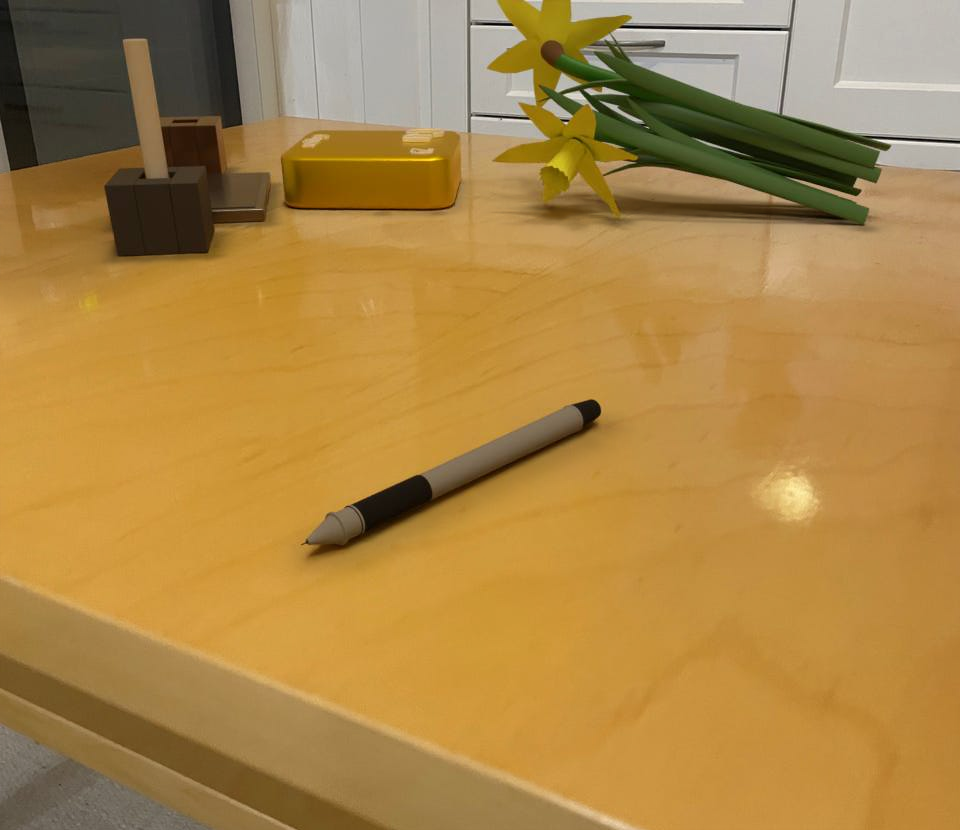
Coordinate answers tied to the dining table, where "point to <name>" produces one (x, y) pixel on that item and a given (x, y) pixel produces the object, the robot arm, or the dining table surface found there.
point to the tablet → (239, 196)
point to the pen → (451, 474)
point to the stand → (194, 142)
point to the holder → (160, 211)
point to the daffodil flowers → (667, 122)
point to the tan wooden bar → (145, 107)
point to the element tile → (373, 169)
